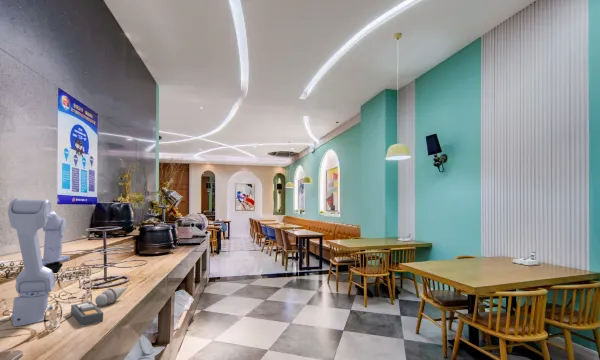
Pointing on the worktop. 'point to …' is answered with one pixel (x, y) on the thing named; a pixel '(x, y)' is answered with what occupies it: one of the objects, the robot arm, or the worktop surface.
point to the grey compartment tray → (86, 319)
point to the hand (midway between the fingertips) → (50, 282)
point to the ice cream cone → (109, 296)
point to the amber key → (90, 312)
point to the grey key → (86, 307)
